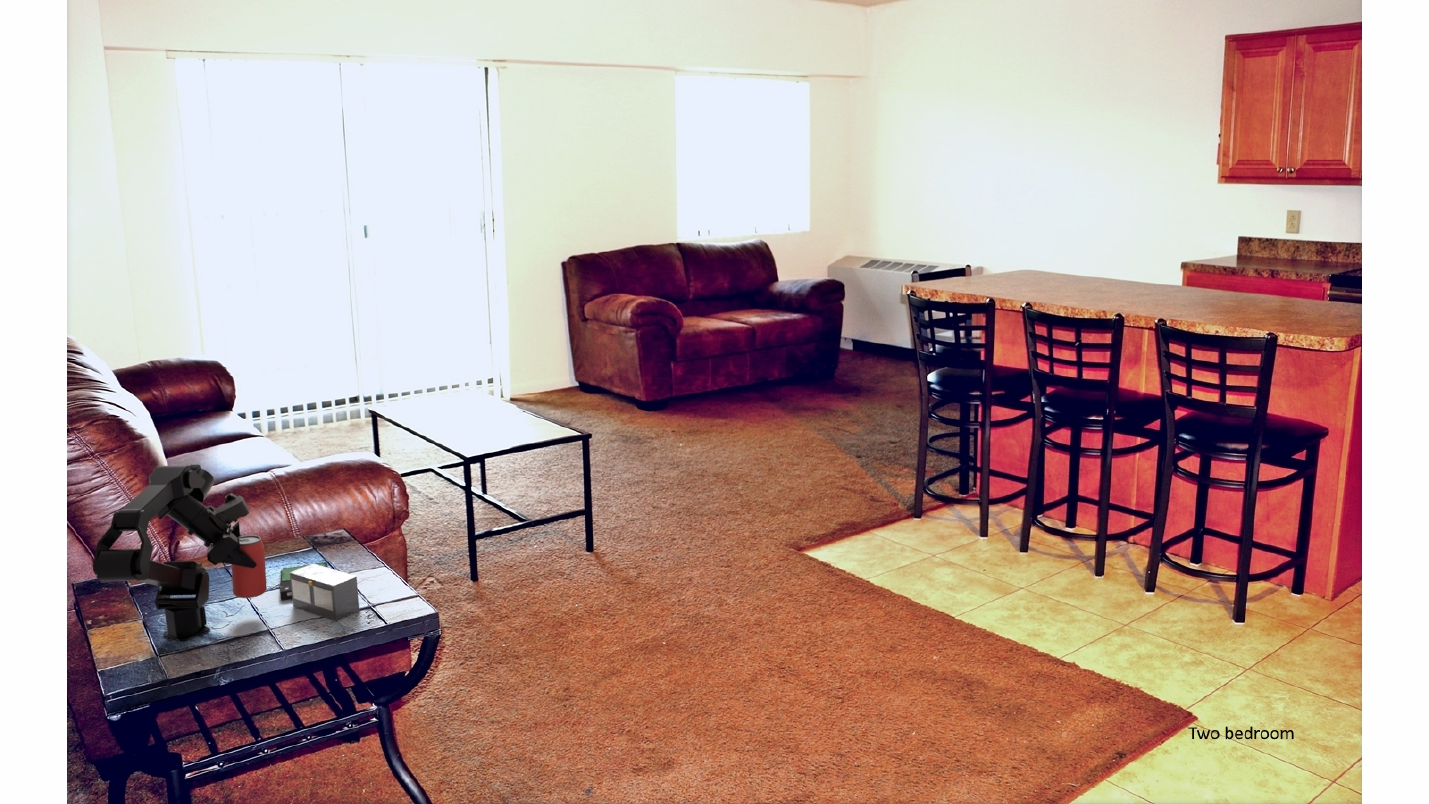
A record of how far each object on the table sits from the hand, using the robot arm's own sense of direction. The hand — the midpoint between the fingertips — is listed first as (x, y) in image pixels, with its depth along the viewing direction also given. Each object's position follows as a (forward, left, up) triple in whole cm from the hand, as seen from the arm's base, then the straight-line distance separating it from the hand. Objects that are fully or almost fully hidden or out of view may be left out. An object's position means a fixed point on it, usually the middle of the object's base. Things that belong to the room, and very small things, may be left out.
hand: (255, 560), depth 225 cm
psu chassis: (+9, -10, -12) cm, 18 cm away
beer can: (-1, +1, -7) cm, 7 cm away
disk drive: (+15, +5, -13) cm, 20 cm away
